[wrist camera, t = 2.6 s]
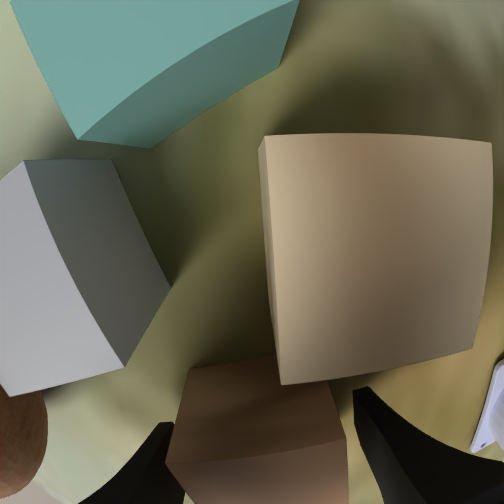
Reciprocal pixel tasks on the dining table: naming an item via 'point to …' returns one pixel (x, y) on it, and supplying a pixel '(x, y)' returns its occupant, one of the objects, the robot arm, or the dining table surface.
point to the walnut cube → (258, 438)
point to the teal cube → (149, 59)
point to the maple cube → (373, 249)
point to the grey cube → (71, 274)
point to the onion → (21, 439)
